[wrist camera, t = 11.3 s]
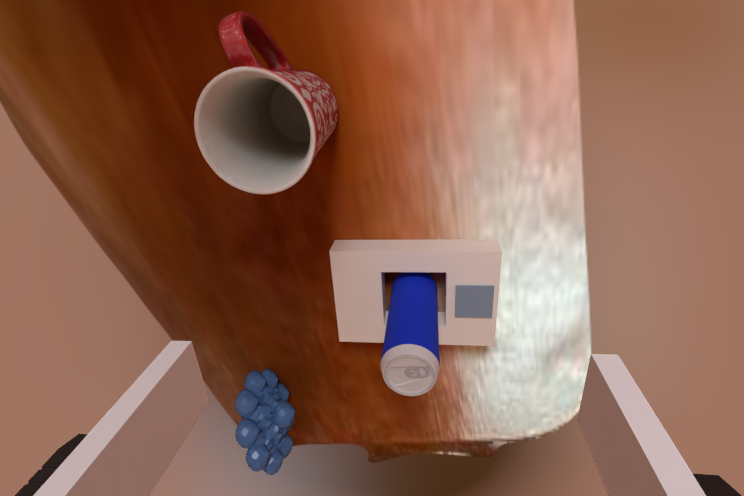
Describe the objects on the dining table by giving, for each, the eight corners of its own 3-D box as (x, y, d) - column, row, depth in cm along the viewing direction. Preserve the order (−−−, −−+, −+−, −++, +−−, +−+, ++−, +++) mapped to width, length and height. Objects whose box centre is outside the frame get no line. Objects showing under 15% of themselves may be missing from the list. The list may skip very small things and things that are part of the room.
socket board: (334, 239, 47) (328, 252, 44) (497, 239, 45) (502, 252, 42) (344, 326, 52) (339, 342, 50) (490, 330, 50) (494, 347, 47)
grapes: (326, 408, 59) (304, 488, 48) (286, 418, 61) (255, 497, 50) (287, 345, 55) (253, 417, 44) (245, 358, 57) (202, 430, 46)
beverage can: (399, 308, 50) (389, 402, 37) (387, 272, 48) (371, 357, 35) (441, 300, 49) (446, 394, 36) (430, 262, 47) (431, 346, 34)
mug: (357, 147, 43) (329, 184, 30) (275, 162, 44) (218, 203, 32) (327, 8, 38) (279, -12, 25) (236, 32, 39) (151, 23, 27)
